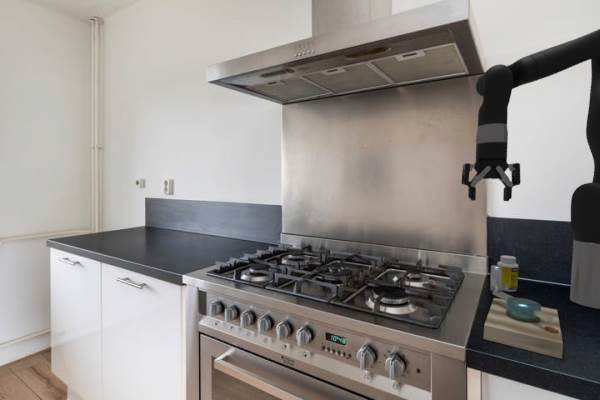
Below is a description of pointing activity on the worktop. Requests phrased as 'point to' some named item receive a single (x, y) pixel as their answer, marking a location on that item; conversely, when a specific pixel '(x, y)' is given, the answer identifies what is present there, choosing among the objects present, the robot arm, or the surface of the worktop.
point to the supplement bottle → (509, 273)
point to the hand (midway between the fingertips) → (489, 200)
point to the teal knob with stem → (516, 301)
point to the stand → (524, 330)
